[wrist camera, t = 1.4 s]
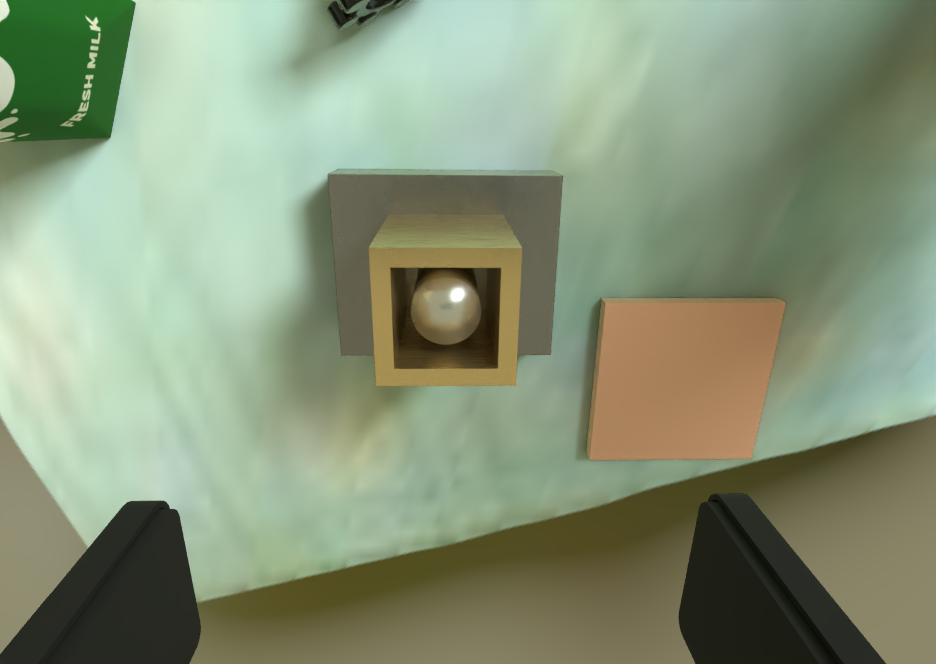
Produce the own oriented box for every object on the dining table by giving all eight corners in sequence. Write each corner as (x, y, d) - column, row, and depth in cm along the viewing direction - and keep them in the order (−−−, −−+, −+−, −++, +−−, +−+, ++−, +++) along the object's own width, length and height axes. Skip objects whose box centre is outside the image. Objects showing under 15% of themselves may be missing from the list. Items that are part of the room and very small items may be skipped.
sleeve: (503, 214, 30) (522, 248, 22) (499, 322, 32) (516, 385, 24) (388, 214, 29) (368, 247, 22) (392, 322, 32) (375, 386, 24)
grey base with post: (552, 170, 32) (596, 193, 23) (542, 335, 35) (576, 414, 26) (338, 168, 31) (292, 190, 22) (349, 336, 35) (314, 416, 26)
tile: (777, 298, 35) (786, 303, 34) (744, 450, 39) (751, 458, 38) (601, 297, 35) (605, 303, 34) (586, 451, 39) (589, 460, 38)
